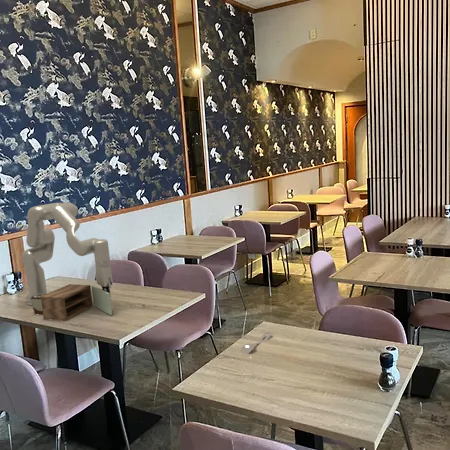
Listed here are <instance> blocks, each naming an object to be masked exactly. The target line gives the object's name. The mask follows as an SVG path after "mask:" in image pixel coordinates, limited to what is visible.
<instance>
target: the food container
mask: <svg viewBox="0 0 450 450" xmlns="http://www.w3.org/2000/svg"><path fill="white" fill-rule="evenodd" d="M43 295H46V294H36V295H32V296H31V297H30V300H31V301H32V305H31V306H32V309H33V314H34V315H36V314H39V315H38V316H43V309H42V303H41V296H43Z"/></svg>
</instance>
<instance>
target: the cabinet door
mask: <svg viewBox="0 0 450 450" xmlns="http://www.w3.org/2000/svg"><path fill="white" fill-rule="evenodd" d="M90 286H91V294H92V302H93V307H94V308H97V309H99V310H100V311H102V312H104V313H105V314H107V315H109V316H112V315H113V310H112V309H113V308H112V298H111V297H110V296H111V292H110V293H108V292H106V291H104V290H102V288H100V287H97V286H95V285H94V284H93V285H90Z"/></svg>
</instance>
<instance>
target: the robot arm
mask: <svg viewBox="0 0 450 450" xmlns="http://www.w3.org/2000/svg"><path fill="white" fill-rule="evenodd" d="M77 215H78V209H77V206H76V205H75V204H74V203H72V202H53V203H46V204H39V205H35V206H32V207H30V208H29V209H28V211H27V215H26V216H27V228H26V229H27V230H26V245H27V246H28V247H29V248H28V249H26V250H24V251H23V252H22V253H21V261H22V263H23V267H24V270H25V276H26V282H27V287H28V293H27V295H26V296H25V299H27V300H28V301H27V305H29V306H32V301H31V300H30V297H31V296H32V295H36V294H48V291H47V285H46V276H45V271H44V268H43V267H42V266H41V265H40V264H41V263H45V262H48V261H50V260H51V259H52V258H53V254H54V247H55V239H56V238H55V236H56V235H55V233H54V231H53V230H52V229H51V228H49V227H45V223H44V222H45V221H50V220H54V221H56V223H57V224H58V225H59V226H60V227H61V229H62V230H64V231H65V233H66V234H65V235H66V236H65V238H66V242H67V244H68V247H69V248H70V249H71V250H72V252H74V254H76V255H77V256H80V257H84V256H87V255H91V254H93V255H94V256H93V257H94V264H95V278H96V285H98V286H101V289H102V290H104V291H106V292H108V293H110V294H111V289H112V285H113V284H114V283H113V275H112V269H111V265H112V263H111V257H110V249H109V248H110V247H109V241H108V240H107V239H106V238H105V239H103V238H102V239H99V238H96V237H94V238H93V237H92V238H89V239H88V238H87V239H84V240H80V239H79V238H78V237H77V236H76V234H75V233H76V232H77V231H78V230H79V228H80V227H81V223H80V221H79V220H78V219H77V218H76V216H77ZM111 297H112V296H111V295H110V298H111Z"/></svg>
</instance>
